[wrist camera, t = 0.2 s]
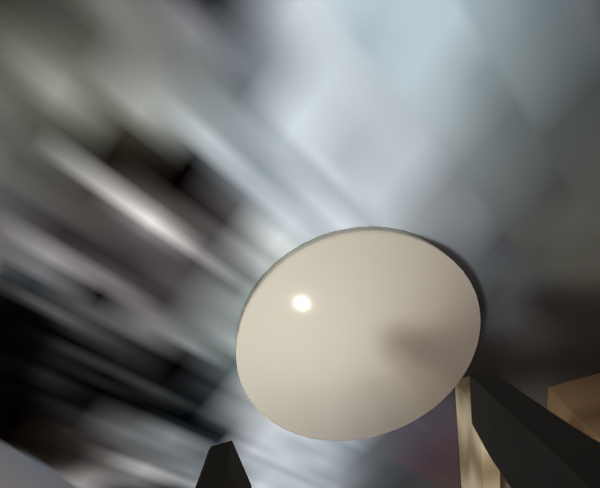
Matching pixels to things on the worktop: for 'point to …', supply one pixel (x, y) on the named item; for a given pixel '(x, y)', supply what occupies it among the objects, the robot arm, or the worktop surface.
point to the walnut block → (578, 404)
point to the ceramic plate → (356, 334)
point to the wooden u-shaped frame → (473, 446)
